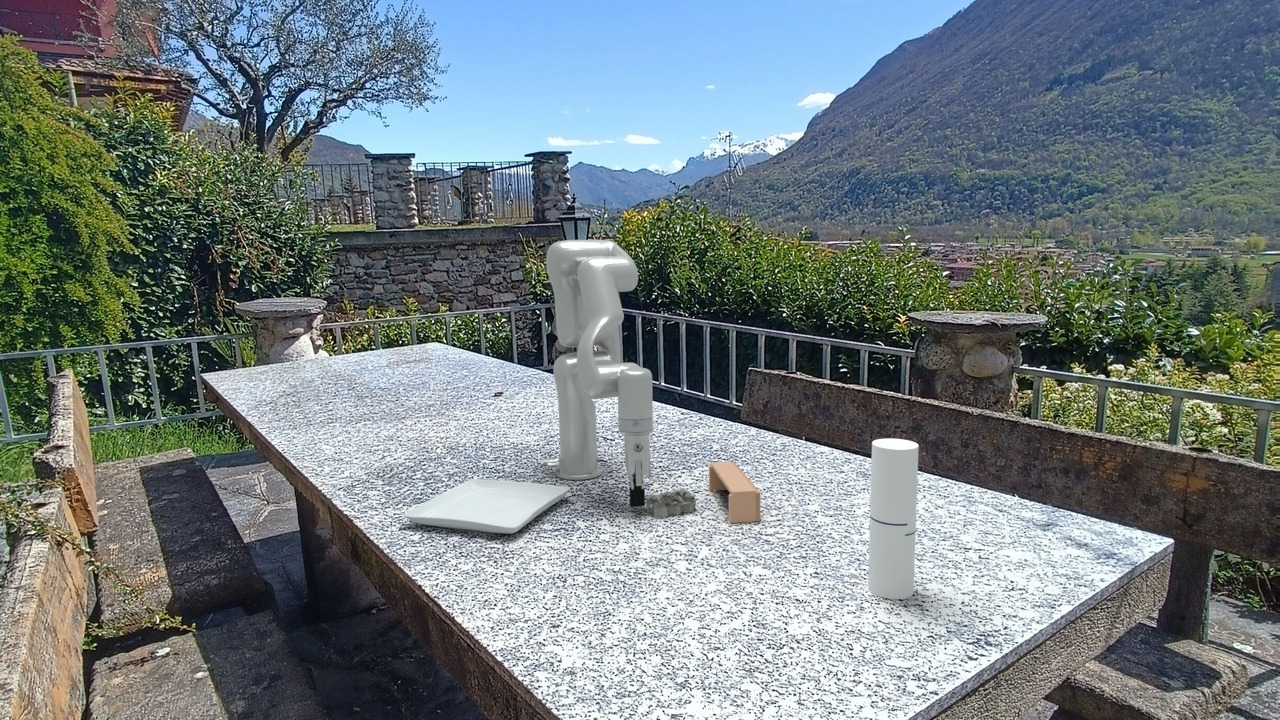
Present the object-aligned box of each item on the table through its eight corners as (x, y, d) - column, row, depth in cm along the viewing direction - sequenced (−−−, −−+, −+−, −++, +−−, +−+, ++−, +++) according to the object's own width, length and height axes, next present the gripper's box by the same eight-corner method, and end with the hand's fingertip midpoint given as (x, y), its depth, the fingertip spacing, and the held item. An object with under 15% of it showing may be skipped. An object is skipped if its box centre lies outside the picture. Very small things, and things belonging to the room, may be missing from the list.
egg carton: (656, 520, 157) (656, 502, 157) (642, 509, 164) (641, 492, 163) (700, 512, 161) (700, 494, 161) (684, 502, 168) (684, 485, 168)
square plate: (573, 501, 171) (572, 484, 171) (516, 545, 146) (515, 526, 145) (471, 491, 180) (471, 475, 179) (401, 530, 154) (400, 513, 154)
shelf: (730, 523, 154) (729, 492, 153) (708, 490, 176) (708, 462, 175) (760, 521, 155) (760, 490, 154) (735, 488, 177) (735, 461, 176)
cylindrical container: (861, 581, 126) (865, 439, 122) (901, 579, 126) (906, 437, 123) (878, 600, 119) (882, 450, 115) (921, 598, 119) (926, 448, 116)
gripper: (656, 432, 153) (658, 516, 156) (649, 416, 168) (650, 493, 171) (620, 433, 153) (622, 518, 155) (616, 417, 167) (618, 495, 170)
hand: (637, 505), depth 163 cm, fingers closed
